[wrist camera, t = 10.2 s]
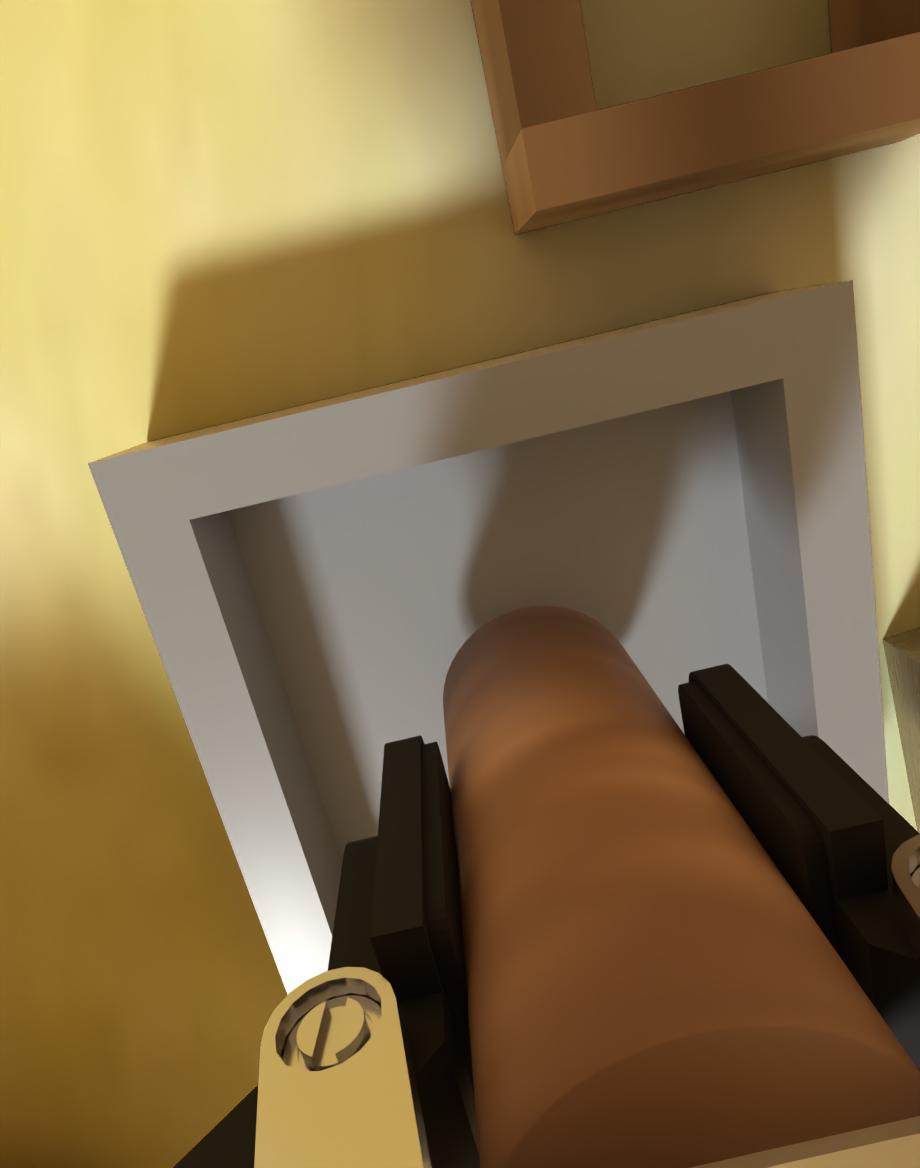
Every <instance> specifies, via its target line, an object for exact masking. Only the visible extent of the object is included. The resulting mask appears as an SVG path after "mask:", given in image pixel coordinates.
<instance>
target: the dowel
mask: <svg viewBox="0 0 920 1168" xmlns="http://www.w3.org/2000/svg"><path fill="white" fill-rule="evenodd" d="M443 712H444V724H445V736H446V749H447V761H448V774H449V786H450V790H451V799H452V811H453V823H454V835H455V847H456V859H457V871H458V883H459V895H460V907H461V919H462V931H463V943H464V956H465V968H466V980H467V992H468V1021H469V1034H470V1046H471V1059H472V1071H473V1083H474V1096H475V1108H476V1121H477V1133H478V1145H479V1158H480V1168H691V1167H695V1166H700V1165H704V1164H709V1163H713V1162H717V1161H722V1160H726V1159H731V1158H735V1157H739V1156H744V1155H748V1154H753V1153H757V1152H761V1151H766V1150H770V1149H775V1148H779V1147H784V1146H788V1145H793V1144H797V1143H802V1142H806V1141H810V1140H815V1139H819V1138H824V1137H828V1136H833V1135H837V1134H842V1133H846V1132H850V1131H855V1130H859V1129H864V1128H868V1127H873V1126H877V1125H882V1124H886V1123H891V1122H895V1121H899V1120H904V1119H908V1118H913V1117H917V1116H920V1071H919V1070H918V1068H917V1067H916V1065H915V1064H914V1062H913V1061H912V1060H911V1058H910V1057H909V1055H908V1054H907V1052H906V1051H905V1050H904V1048H903V1047H902V1045H901V1044H900V1042H899V1041H898V1040H897V1038H896V1037H895V1035H894V1034H893V1032H892V1031H891V1029H890V1028H889V1027H888V1025H887V1024H886V1022H885V1021H884V1019H883V1018H882V1017H881V1015H880V1014H879V1012H878V1011H877V1009H876V1008H875V1007H874V1005H873V1004H872V1002H871V1001H870V999H869V998H868V997H867V995H866V994H865V992H864V991H863V989H862V988H861V987H860V985H859V984H858V982H857V981H856V979H855V978H854V976H853V975H852V974H851V972H850V971H849V969H848V968H847V966H846V965H845V964H844V962H843V961H842V959H841V958H840V956H839V955H838V954H837V952H836V951H835V949H834V948H833V946H832V945H831V944H830V942H829V941H828V939H827V938H826V936H825V935H824V934H823V932H822V931H821V929H820V928H819V926H818V925H817V924H816V922H815V921H814V919H813V918H812V916H811V915H810V913H809V912H808V911H807V909H806V908H805V906H804V905H803V903H802V902H801V901H800V899H799V898H798V896H797V895H796V893H795V892H794V891H793V889H792V888H791V886H790V885H789V883H788V882H787V881H786V879H785V878H784V876H783V875H782V873H781V872H780V871H779V869H778V868H777V866H776V865H775V863H774V862H773V861H772V859H771V858H770V856H769V855H768V853H767V852H766V850H765V849H764V848H763V846H762V845H761V843H760V842H759V840H758V839H757V838H756V836H755V835H754V833H753V832H752V830H751V829H750V828H749V826H748V825H747V823H746V822H745V820H744V819H743V818H742V816H741V815H740V813H739V812H738V810H737V809H736V808H735V806H734V805H733V803H732V802H731V800H730V799H729V798H728V796H727V795H726V793H725V792H724V790H723V789H722V787H721V786H720V785H719V783H718V782H717V780H716V779H715V777H714V776H713V775H712V773H711V772H710V770H709V769H708V767H707V766H706V765H705V763H704V762H703V760H702V759H701V757H700V756H699V755H698V753H697V752H696V750H695V749H694V747H693V746H692V745H691V743H690V742H689V740H688V739H687V737H686V736H685V734H684V733H683V732H682V730H681V729H680V727H679V726H678V724H677V723H676V722H675V720H674V719H673V717H672V716H671V714H670V713H669V712H668V710H667V709H666V707H665V706H664V704H663V703H662V702H661V700H660V699H659V697H658V696H657V694H656V693H655V692H654V690H653V689H652V687H651V686H650V684H649V683H648V682H647V680H646V679H645V677H644V676H643V674H642V673H641V671H640V670H639V669H638V667H637V666H636V664H635V663H634V661H633V660H632V659H631V657H630V656H629V654H628V653H627V651H626V650H625V649H624V647H623V646H622V644H621V643H620V642H619V641H618V639H617V638H616V637H615V636H614V634H613V633H611V632H610V631H609V630H608V629H607V628H606V627H605V626H604V625H602V624H601V623H599V622H598V621H596V620H595V619H593V618H591V617H589V616H587V615H585V614H583V613H580V612H577V611H574V610H571V609H566V608H562V607H553V606H535V607H528V608H522V609H518V610H515V611H511V612H508V613H506V614H503V615H501V616H499V617H497V618H495V619H493V620H491V621H490V622H488V623H486V624H485V625H483V626H482V627H481V628H479V629H478V630H477V631H476V632H474V633H473V634H472V635H471V636H470V637H469V638H468V639H467V640H466V641H465V643H464V644H463V645H462V647H461V648H460V649H459V651H458V652H457V654H456V655H455V657H454V659H453V661H452V662H451V665H450V667H449V670H448V672H447V675H446V679H445V684H444V690H443Z"/></svg>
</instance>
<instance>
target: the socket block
mask: <svg viewBox="0 0 920 1168" xmlns="http://www.w3.org/2000/svg"><path fill="white" fill-rule="evenodd" d="M828 3H829V17H830V31H831V45H832V53H831V54H827V55H823V56H819V57H815V58H811V59H806V60H802V61H798V62H794V63H790V64H786V65H782V66H778V67H774V68H769V69H765V70H761V71H757V72H753V73H749V74H745V75H741V76H737V77H732V78H728V79H724V80H720V81H716V82H712V83H708V84H704V85H700V86H695V87H691V88H687V89H683V90H679V91H675V92H671V93H667V94H663V95H658V96H654V97H650V98H646V99H642V100H638V101H634V102H630V103H626V104H621V105H617V106H613V107H609V108H605V109H601V110H597V111H596V104H595V98H594V91H593V85H592V78H591V72H590V65H589V59H588V52H587V46H586V39H585V33H584V26H583V20H582V13H581V7H580V0H471V5H472V11H473V16H474V21H475V26H476V32H477V37H478V42H479V47H480V53H481V58H482V63H483V68H484V74H485V79H486V84H487V89H488V95H489V100H490V105H491V111H492V116H493V121H494V126H495V132H496V137H497V142H498V147H499V153H500V158H501V163H502V168H503V174H504V179H505V184H506V189H507V195H508V200H509V205H510V210H511V216H512V221H513V226H514V231H515V234H519V233H523V232H527V231H531V230H535V229H540V228H544V227H548V226H552V225H556V224H560V223H564V222H569V221H573V220H577V219H581V218H585V217H589V216H593V215H597V214H602V213H606V212H610V211H614V210H618V209H622V208H626V207H631V206H635V205H639V204H643V203H647V202H651V201H655V200H660V199H664V198H668V197H672V196H676V195H680V194H684V193H688V192H693V191H697V190H701V189H705V188H709V187H713V186H717V185H722V184H726V183H730V182H734V181H738V180H742V179H746V178H751V177H755V176H759V175H763V174H767V173H771V172H775V171H779V170H784V169H788V168H792V167H796V166H800V165H804V164H808V163H813V162H817V161H821V160H825V159H829V158H833V157H837V156H842V155H846V154H850V153H854V152H858V151H862V150H866V149H870V148H875V147H879V146H883V145H887V144H891V143H895V142H899V141H902V140H905V139H907V138H909V137H912V136H914V135H916V134H919V133H920V0H828Z"/></svg>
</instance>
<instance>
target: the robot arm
mask: <svg viewBox="0 0 920 1168" xmlns="http://www.w3.org/2000/svg"><path fill="white" fill-rule="evenodd" d="M678 695H679V702H680V708H681V715H682V721H683V727H684V734H685V736H686V737H687V739H688V740H689V742H690V743H691V745H692V746H693V747H694V749H695V750H696V752H697V753H698V755H699V756H700V757H701V759H702V760H703V762H704V763H705V765H706V766H707V767H708V769H709V770H710V772H711V773H712V775H713V776H714V777H715V779H716V780H717V782H718V783H719V785H720V786H721V787H722V789H723V790H724V792H725V793H726V795H727V796H728V798H729V799H730V800H731V802H732V803H733V805H734V806H735V808H736V809H737V810H738V812H739V813H740V815H741V816H742V818H743V819H744V820H745V822H746V823H747V825H748V826H749V828H750V829H751V830H752V832H753V833H754V835H755V836H756V838H757V839H758V840H759V842H760V843H761V845H762V846H763V848H764V849H765V850H766V852H767V853H768V855H769V856H770V858H771V859H772V861H773V862H774V863H775V865H776V866H777V868H778V869H779V871H780V872H781V873H782V875H783V876H784V878H785V879H786V881H787V882H788V883H789V885H790V886H791V888H792V889H793V891H794V892H795V893H796V895H797V896H798V898H799V899H800V901H801V902H802V903H803V905H804V906H805V908H806V909H807V911H808V912H809V913H810V915H811V916H812V918H813V919H814V921H815V922H816V924H817V925H818V926H819V928H820V929H821V931H822V932H823V934H824V935H825V936H826V938H827V939H828V941H829V942H830V944H831V945H832V946H833V948H834V949H835V951H836V952H837V954H838V955H839V956H840V958H841V959H842V961H843V962H844V964H845V965H846V966H847V968H848V969H849V971H850V972H851V974H852V975H853V976H854V978H855V979H856V981H857V982H858V984H859V985H860V987H861V988H862V989H863V991H864V992H865V994H866V995H867V997H868V998H869V999H870V1001H871V1002H872V1004H873V1005H874V1007H875V1008H876V1009H877V1011H878V1012H879V1014H880V1015H881V1017H882V1018H883V1019H884V1021H885V1022H886V1024H887V1025H888V1027H889V1028H890V1029H891V1031H892V1032H893V1034H894V1035H895V1037H896V1038H897V1040H898V1041H899V1042H900V1044H901V1045H902V1047H903V1048H904V1050H905V1051H906V1052H907V1054H908V1055H909V1057H910V1058H911V1060H912V1061H913V1062H914V1064H915V1065H916V1067H917V1068H918V1070H919V1071H920V834H919V833H918V832H917V831H916V830H915V829H914V828H913V827H912V826H911V825H910V824H909V823H908V822H907V821H906V820H905V819H904V818H903V817H902V816H901V815H900V814H899V813H898V812H897V811H896V810H895V809H894V808H892V807H891V806H890V805H889V804H888V803H887V802H886V801H885V800H884V799H883V798H882V797H881V796H880V795H879V794H878V793H877V792H876V791H875V790H874V789H873V788H872V787H871V786H870V785H869V784H868V783H867V782H866V781H864V780H863V779H862V778H861V777H860V776H859V775H858V774H857V773H856V772H855V771H854V770H853V769H852V768H851V767H850V766H849V765H848V764H847V763H846V762H845V761H844V760H843V759H842V758H841V757H840V756H839V755H838V754H837V753H835V752H834V751H833V750H832V749H831V748H830V747H829V746H828V745H827V744H826V743H825V742H824V741H823V740H822V739H820V738H819V737H817V736H814V735H809V736H805V737H801V736H800V735H799V734H798V733H797V732H796V731H795V730H794V729H793V728H792V727H791V726H790V725H789V724H788V723H787V722H786V721H785V720H784V719H783V718H782V717H781V716H780V715H779V714H778V713H777V712H776V711H775V710H774V709H773V708H772V707H771V706H770V705H769V704H768V703H767V702H766V701H765V700H764V698H763V697H762V696H761V695H760V694H759V693H758V692H757V691H756V690H755V689H754V688H753V687H752V686H751V685H750V684H749V683H748V682H747V681H746V680H745V679H744V678H743V677H742V676H741V675H740V674H739V673H738V672H737V671H736V670H735V669H734V668H733V667H732V666H731V665H729V664H723V665H719V666H714V667H710V668H706V669H702V670H697V671H693V672H690V674H689V683H684V684H680V685H679V686H678ZM173 1168H480V1158H479V1145H478V1133H477V1121H476V1108H475V1096H474V1083H473V1071H472V1059H471V1046H470V1034H469V1021H468V992H467V980H466V968H465V956H464V943H463V931H462V919H461V907H460V895H459V883H458V871H457V859H456V847H455V835H454V823H453V811H452V799H451V790H450V786H449V782H448V779H447V775H446V771H445V767H444V764H443V760H442V756H441V752H440V749H439V746H438V743H437V741H436V742H432V743H428V744H424V741H423V738H422V736H421V735H420V736H415V737H411V738H407V739H402V740H398V741H394V742H390V743H386V744H385V745H384V756H383V770H382V784H381V797H380V811H379V824H378V836H375V837H370V838H366V839H362V840H357V841H353V842H349V843H347V844H346V846H345V850H344V855H343V862H342V870H341V877H340V884H339V891H338V899H337V906H336V913H335V920H334V928H333V935H332V942H331V949H330V957H329V964H328V971H326V972H323V973H321V974H319V975H317V976H315V977H313V978H310V979H308V980H306V981H305V982H304V983H302V984H301V985H300V986H298V987H297V988H296V989H294V990H293V991H291V992H290V993H289V994H288V995H287V996H286V997H285V998H284V999H283V1001H282V1002H281V1003H280V1004H279V1005H278V1006H277V1007H276V1008H275V1009H274V1011H273V1013H272V1015H271V1017H270V1018H269V1020H268V1022H267V1024H266V1026H265V1027H264V1032H263V1036H262V1040H261V1045H260V1061H259V1081H258V1086H257V1087H256V1088H255V1089H253V1090H252V1091H251V1092H250V1093H249V1094H248V1095H247V1096H246V1097H245V1098H244V1099H243V1100H242V1101H241V1102H240V1103H239V1104H238V1105H237V1106H236V1107H235V1108H234V1109H233V1110H232V1111H231V1112H230V1113H229V1114H228V1115H227V1116H226V1117H225V1118H224V1119H223V1120H222V1121H221V1122H220V1123H219V1124H218V1125H216V1126H215V1127H214V1128H213V1129H212V1130H211V1131H210V1132H209V1133H208V1134H207V1135H206V1136H205V1137H204V1138H203V1139H202V1140H201V1141H200V1142H199V1143H198V1144H197V1145H196V1146H195V1147H194V1148H193V1149H192V1150H191V1151H190V1152H189V1153H188V1154H187V1155H186V1156H185V1157H184V1158H183V1159H182V1160H181V1161H179V1162H178V1163H177V1164H176V1165H175V1166H174V1167H173ZM691 1168H920V1116H917V1117H913V1118H908V1119H904V1120H899V1121H895V1122H891V1123H886V1124H882V1125H877V1126H873V1127H868V1128H864V1129H859V1130H855V1131H850V1132H846V1133H842V1134H837V1135H833V1136H828V1137H824V1138H819V1139H815V1140H810V1141H806V1142H802V1143H797V1144H793V1145H788V1146H784V1147H779V1148H775V1149H770V1150H766V1151H761V1152H757V1153H753V1154H748V1155H744V1156H739V1157H735V1158H731V1159H726V1160H722V1161H717V1162H713V1163H709V1164H704V1165H700V1166H695V1167H691Z"/></svg>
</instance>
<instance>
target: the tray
mask: <svg viewBox="0 0 920 1168" xmlns="http://www.w3.org/2000/svg"><path fill="white" fill-rule="evenodd" d="M88 465H89V468H90V470H91V473H92V476H93V478H94V481H95V484H96V486H97V489H98V492H99V494H100V497H101V500H102V502H103V505H104V508H105V510H106V513H107V516H108V518H109V521H110V523H111V526H112V529H113V531H114V534H115V537H116V539H117V542H118V545H119V547H120V550H121V553H122V555H123V558H124V561H125V563H126V566H127V569H128V571H129V574H130V577H131V579H132V582H133V585H134V587H135V590H136V593H137V595H138V598H139V601H140V603H141V606H142V609H143V611H144V614H145V617H146V619H147V622H148V625H149V627H150V630H151V633H152V635H153V638H154V641H155V643H156V646H157V649H158V651H159V654H160V657H161V659H162V662H163V665H164V667H165V670H166V673H167V675H168V678H169V681H170V683H171V686H172V689H173V691H174V694H175V697H176V699H177V702H178V705H179V707H180V710H181V712H182V715H183V718H184V720H185V723H186V726H187V728H188V731H189V734H190V736H191V739H192V742H193V744H194V747H195V750H196V752H197V755H198V758H199V760H200V763H201V766H202V768H203V771H204V774H205V776H206V779H207V782H208V784H209V787H210V790H211V792H212V795H213V798H214V800H215V803H216V806H217V808H218V811H219V814H220V816H221V819H222V822H223V824H224V827H225V830H226V832H227V835H228V838H229V840H230V843H231V846H232V848H233V851H234V854H235V856H236V859H237V862H238V864H239V867H240V870H241V872H242V875H243V878H244V880H245V883H246V886H247V888H248V891H249V894H250V896H251V899H252V901H253V904H254V907H255V909H256V912H257V915H258V917H259V920H260V923H261V925H262V928H263V931H264V933H265V936H266V939H267V941H268V944H269V947H270V949H271V952H272V955H273V957H274V960H275V963H276V965H277V968H278V971H279V973H280V976H281V979H282V981H283V984H284V987H285V989H286V992H287V995H288V994H289V993H290V992H291V991H293V990H294V989H296V988H297V987H298V986H300V985H301V984H302V983H304V982H305V981H306V980H308V979H310V978H313V977H315V976H317V975H319V974H321V973H323V972H326V971H328V964H329V957H330V949H331V942H332V935H333V928H334V920H335V913H336V906H337V899H338V891H339V884H340V877H341V870H342V862H343V855H344V850H345V846H346V844H347V843H349V842H353V841H357V840H362V839H366V838H370V837H375V836H378V824H379V811H380V797H381V784H382V770H383V756H384V745H385V744H386V743H390V742H394V741H398V740H402V739H407V738H411V737H415V736H420V735H421V736H422V738H423V741H424V744H428V743H432V742H436V741H437V743H438V746H439V749H440V752H441V756H442V760H443V764H444V767H445V771H446V775H447V779H448V782H449V774H448V761H447V749H446V736H445V724H444V712H443V690H444V684H445V679H446V675H447V672H448V670H449V667H450V665H451V662H452V661H453V659H454V657H455V655H456V654H457V652H458V651H459V649H460V648H461V647H462V645H463V644H464V643H465V641H466V640H467V639H468V638H469V637H470V636H471V635H472V634H473V633H474V632H476V631H477V630H478V629H479V628H481V627H482V626H483V625H485V624H486V623H488V622H490V621H491V620H493V619H495V618H497V617H499V616H501V615H503V614H506V613H508V612H511V611H515V610H518V609H522V608H528V607H535V606H553V607H562V608H566V609H571V610H574V611H577V612H580V613H583V614H585V615H587V616H589V617H591V618H593V619H595V620H596V621H598V622H599V623H601V624H602V625H604V626H605V627H606V628H607V629H608V630H609V631H610V632H611V633H613V634H614V636H615V637H616V638H617V639H618V641H619V642H620V643H621V644H622V646H623V647H624V649H625V650H626V651H627V653H628V654H629V656H630V657H631V659H632V660H633V661H634V663H635V664H636V666H637V667H638V669H639V670H640V671H641V673H642V674H643V676H644V677H645V679H646V680H647V682H648V683H649V684H650V686H651V687H652V689H653V690H654V692H655V693H656V694H657V696H658V697H659V699H660V700H661V702H662V703H663V704H664V706H665V707H666V709H667V710H668V712H669V713H670V714H671V716H672V717H673V719H674V720H675V722H676V723H677V724H678V726H679V727H680V729H681V730H682V732H683V733H684V727H683V721H682V715H681V708H680V702H679V695H678V686H679V685H680V684H684V683H689V674H690V672H693V671H697V670H702V669H706V668H710V667H714V666H719V665H723V664H729V665H731V666H732V667H733V668H734V669H735V670H736V671H737V672H738V673H739V674H740V675H741V676H742V677H743V678H744V679H745V680H746V681H747V682H748V683H749V684H750V685H751V686H752V687H753V688H754V689H755V690H756V691H757V692H758V693H759V694H760V695H761V696H762V697H763V698H764V700H765V701H766V702H767V703H768V704H769V705H770V706H771V707H772V708H773V709H774V710H775V711H776V712H777V713H778V714H779V715H780V716H781V717H782V718H783V719H784V720H785V721H786V722H787V723H788V724H789V725H790V726H791V727H792V728H793V729H794V730H795V731H796V732H797V733H798V734H799V735H800V736H801V737H805V736H809V735H814V736H817V737H819V738H820V739H822V740H823V741H824V742H825V743H826V744H827V745H828V746H829V747H830V748H831V749H832V750H833V751H834V752H835V753H837V754H838V755H839V756H840V757H841V758H842V759H843V760H844V761H845V762H846V763H847V764H848V765H849V766H850V767H851V768H852V769H853V770H854V771H855V772H856V773H857V774H858V775H859V776H860V777H861V778H862V779H863V780H864V781H866V782H867V783H868V784H869V785H870V786H871V787H872V788H873V789H874V790H875V791H876V792H877V793H878V794H879V795H880V796H881V797H882V798H883V799H884V800H885V801H886V802H887V803H888V804H889V798H888V783H887V769H886V755H885V740H884V726H883V711H882V697H881V682H880V668H879V654H878V639H877V625H876V610H875V596H874V581H873V567H872V553H871V538H870V524H869V509H868V495H867V480H866V466H865V452H864V437H863V423H862V408H861V394H860V379H859V365H858V351H857V336H856V322H855V307H854V293H853V280H851V281H844V282H837V283H831V284H824V285H817V286H810V287H804V288H797V289H790V290H784V291H777V292H772V293H767V294H763V295H759V296H755V297H751V298H747V299H742V300H738V301H734V302H730V303H726V304H722V305H717V306H713V307H709V308H705V309H701V310H697V311H692V312H688V313H684V314H680V315H676V316H672V317H667V318H663V319H659V320H655V321H651V322H647V323H642V324H638V325H634V326H630V327H626V328H622V329H617V330H613V331H609V332H605V333H601V334H597V335H592V336H588V337H584V338H580V339H576V340H572V341H567V342H563V343H559V344H555V345H551V346H547V347H542V348H538V349H534V350H530V351H526V352H522V353H517V354H513V355H509V356H505V357H501V358H497V359H492V360H488V361H484V362H480V363H476V364H472V365H467V366H463V367H459V368H455V369H451V370H447V371H442V372H438V373H434V374H430V375H426V376H422V377H417V378H413V379H409V380H405V381H401V382H397V383H392V384H388V385H384V386H380V387H376V388H372V389H367V390H363V391H359V392H355V393H351V394H347V395H342V396H338V397H334V398H330V399H326V400H322V401H317V402H313V403H309V404H305V405H301V406H297V407H292V408H288V409H284V410H280V411H276V412H272V413H267V414H263V415H259V416H255V417H251V418H247V419H242V420H238V421H234V422H230V423H226V424H222V425H217V426H213V427H209V428H205V429H201V430H197V431H192V432H188V433H184V434H180V435H176V436H172V437H167V438H163V439H159V440H155V441H151V442H147V443H143V444H141V445H138V446H135V447H132V448H130V449H127V450H124V451H121V452H119V453H116V454H113V455H110V456H108V457H105V458H102V459H99V460H97V461H94V462H91V463H88Z"/></svg>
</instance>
